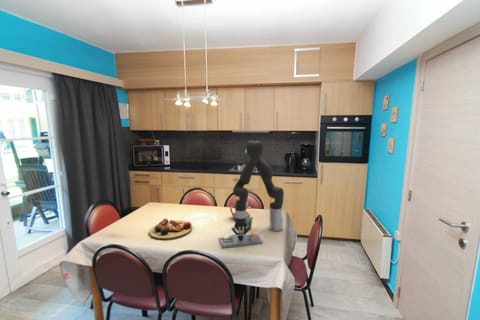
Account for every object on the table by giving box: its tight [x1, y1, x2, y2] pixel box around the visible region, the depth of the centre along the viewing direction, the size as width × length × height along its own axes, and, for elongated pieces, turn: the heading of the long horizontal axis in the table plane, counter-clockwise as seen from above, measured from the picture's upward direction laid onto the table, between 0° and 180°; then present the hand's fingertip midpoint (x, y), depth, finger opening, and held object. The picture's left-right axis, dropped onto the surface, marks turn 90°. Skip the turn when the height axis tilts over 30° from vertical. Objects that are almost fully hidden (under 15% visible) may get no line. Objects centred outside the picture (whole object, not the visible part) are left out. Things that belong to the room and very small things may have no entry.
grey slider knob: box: [233, 234, 238, 243], centre depth 158 cm, size 2×4×5 cm, turn 13°
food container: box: [244, 216, 254, 231], centre depth 181 cm, size 12×6×10 cm, turn 66°
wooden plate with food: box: [148, 218, 194, 241], centre depth 179 cm, size 32×32×8 cm
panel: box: [218, 233, 263, 249], centre depth 162 cm, size 28×13×4 cm, turn 103°
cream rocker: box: [223, 231, 235, 240], centre depth 163 cm, size 8×4×2 cm, turn 102°
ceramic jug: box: [229, 201, 251, 220], centre depth 201 cm, size 18×14×14 cm
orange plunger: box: [250, 230, 258, 237], centre depth 161 cm, size 4×4×5 cm
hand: (240, 240), depth 159 cm, fingers closed
